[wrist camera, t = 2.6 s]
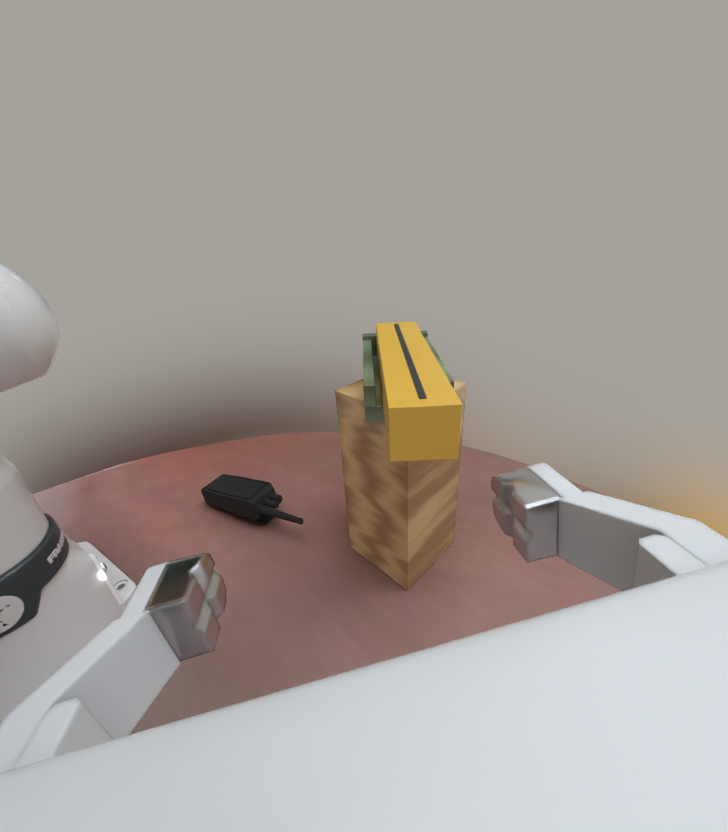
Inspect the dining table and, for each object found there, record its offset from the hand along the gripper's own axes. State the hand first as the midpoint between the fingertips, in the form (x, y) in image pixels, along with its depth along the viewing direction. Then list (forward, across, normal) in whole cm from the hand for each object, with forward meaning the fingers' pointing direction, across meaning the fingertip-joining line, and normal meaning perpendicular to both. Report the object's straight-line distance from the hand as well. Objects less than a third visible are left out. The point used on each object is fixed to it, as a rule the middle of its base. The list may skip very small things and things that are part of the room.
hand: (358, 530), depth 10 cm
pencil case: (+23, -7, +5) cm, 24 cm away
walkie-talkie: (+40, +16, +26) cm, 50 cm away
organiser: (+30, -4, +29) cm, 42 cm away
